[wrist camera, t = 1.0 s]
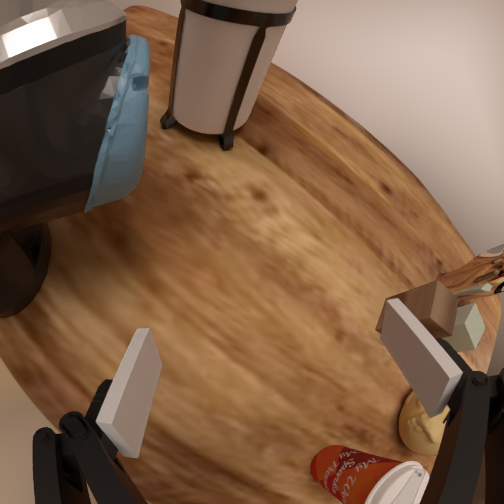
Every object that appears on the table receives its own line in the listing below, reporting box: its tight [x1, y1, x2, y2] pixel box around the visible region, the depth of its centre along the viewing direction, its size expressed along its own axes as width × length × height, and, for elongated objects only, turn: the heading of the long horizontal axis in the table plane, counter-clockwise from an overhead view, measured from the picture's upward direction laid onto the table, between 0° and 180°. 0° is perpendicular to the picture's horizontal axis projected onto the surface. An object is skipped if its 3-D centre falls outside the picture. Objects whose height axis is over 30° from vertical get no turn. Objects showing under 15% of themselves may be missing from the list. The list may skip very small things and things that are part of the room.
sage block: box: [442, 302, 485, 352], centre depth 34 cm, size 5×5×8 cm
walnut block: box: [375, 280, 459, 339], centre depth 31 cm, size 5×5×10 cm
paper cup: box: [311, 445, 429, 504], centre depth 21 cm, size 8×8×14 cm
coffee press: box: [160, 0, 298, 150], centre depth 26 cm, size 17×16×30 cm
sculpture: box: [399, 391, 450, 456], centre depth 27 cm, size 12×12×11 cm
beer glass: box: [437, 244, 504, 301], centre depth 34 cm, size 7×7×15 cm
